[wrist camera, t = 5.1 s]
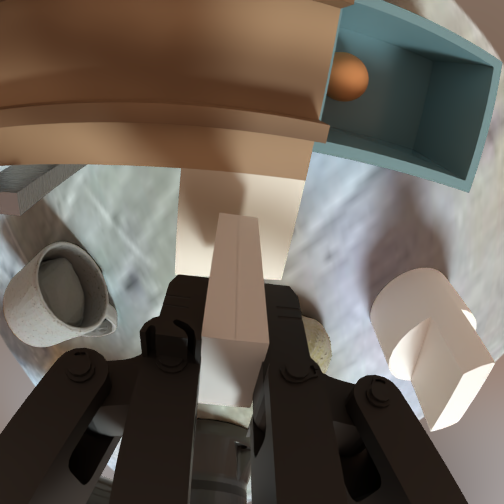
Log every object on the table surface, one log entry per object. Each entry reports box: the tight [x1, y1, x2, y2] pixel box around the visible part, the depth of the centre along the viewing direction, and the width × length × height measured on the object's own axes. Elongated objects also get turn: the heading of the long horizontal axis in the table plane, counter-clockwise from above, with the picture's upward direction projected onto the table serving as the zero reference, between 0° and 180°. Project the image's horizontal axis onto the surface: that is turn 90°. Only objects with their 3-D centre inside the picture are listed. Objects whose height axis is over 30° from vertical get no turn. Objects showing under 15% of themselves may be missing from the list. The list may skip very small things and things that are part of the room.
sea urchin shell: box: [302, 316, 332, 374], centre depth 29 cm, size 9×8×8 cm
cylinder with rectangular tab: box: [370, 268, 495, 431], centre depth 24 cm, size 9×9×12 cm
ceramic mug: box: [3, 242, 117, 347], centre depth 24 cm, size 11×8×8 cm
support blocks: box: [0, 164, 87, 216], centre depth 12 cm, size 14×24×12 cm, turn 81°
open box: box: [312, 0, 502, 193], centre depth 16 cm, size 8×10×8 cm
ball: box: [326, 52, 369, 102], centre depth 17 cm, size 3×3×3 cm
